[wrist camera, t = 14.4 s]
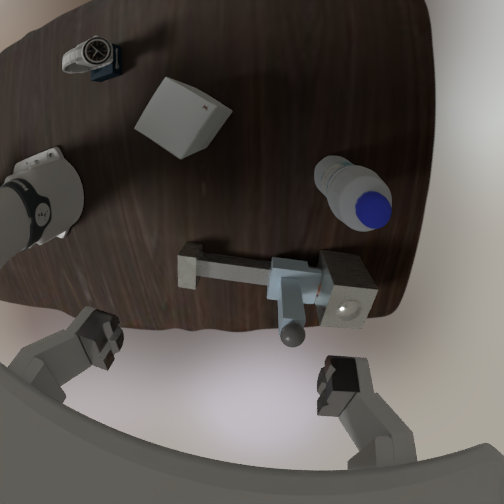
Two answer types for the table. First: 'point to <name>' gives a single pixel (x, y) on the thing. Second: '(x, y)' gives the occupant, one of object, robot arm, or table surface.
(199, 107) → the supplement box
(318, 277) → the ball-topped pillar
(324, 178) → the bottle
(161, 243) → the table surface
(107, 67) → the watch
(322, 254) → the grey slide rail
